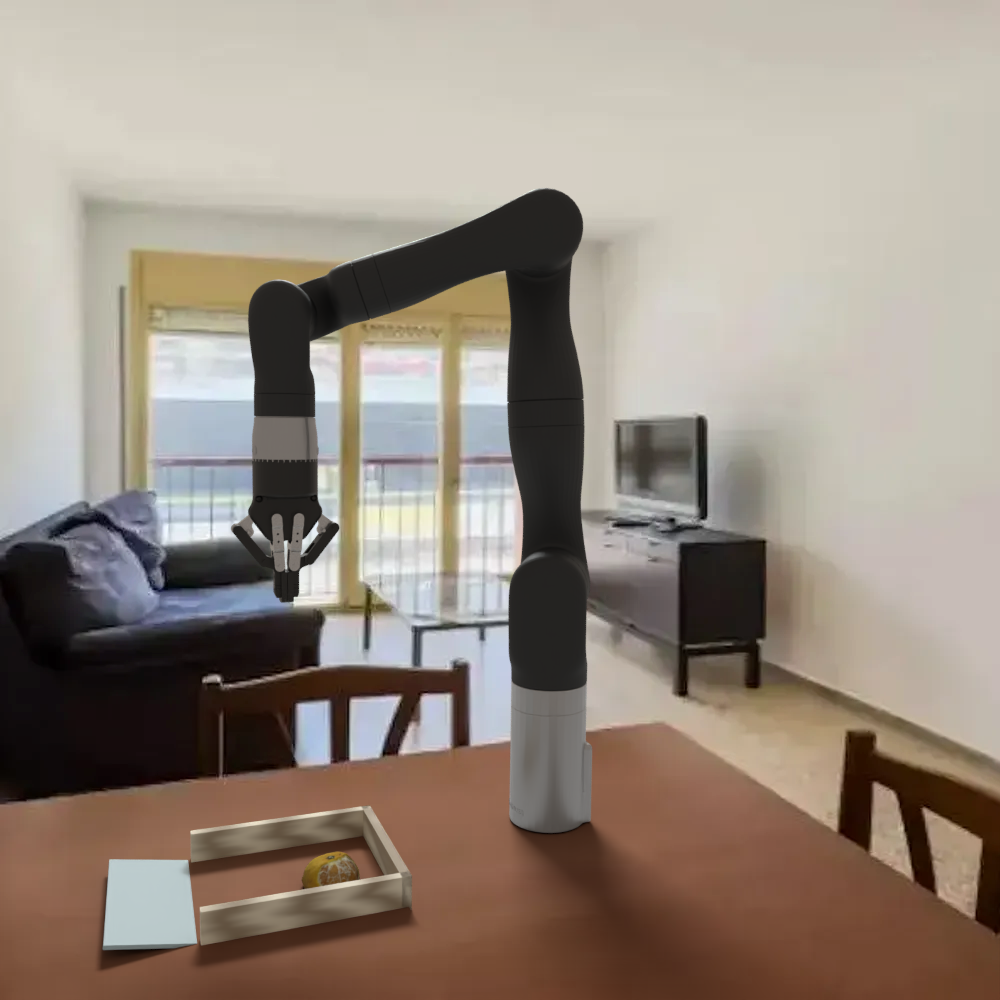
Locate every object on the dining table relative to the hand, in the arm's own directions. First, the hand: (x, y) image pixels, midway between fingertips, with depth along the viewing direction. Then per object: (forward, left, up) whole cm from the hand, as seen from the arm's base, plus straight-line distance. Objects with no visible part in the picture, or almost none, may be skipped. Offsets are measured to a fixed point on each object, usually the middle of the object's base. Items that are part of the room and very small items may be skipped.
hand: (286, 601), depth 109 cm
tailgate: (+12, +16, -27) cm, 33 cm away
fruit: (-2, +20, -28) cm, 34 cm away
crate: (+1, +16, -27) cm, 31 cm away
